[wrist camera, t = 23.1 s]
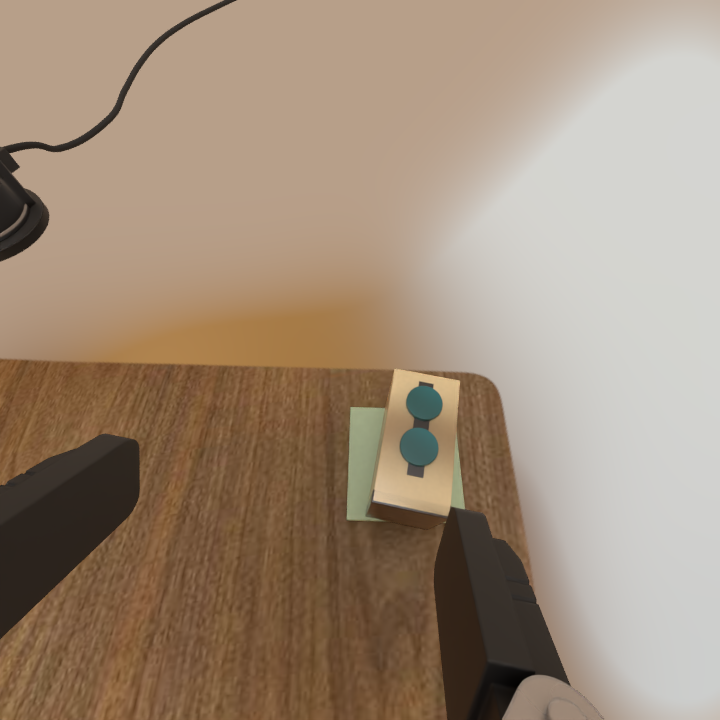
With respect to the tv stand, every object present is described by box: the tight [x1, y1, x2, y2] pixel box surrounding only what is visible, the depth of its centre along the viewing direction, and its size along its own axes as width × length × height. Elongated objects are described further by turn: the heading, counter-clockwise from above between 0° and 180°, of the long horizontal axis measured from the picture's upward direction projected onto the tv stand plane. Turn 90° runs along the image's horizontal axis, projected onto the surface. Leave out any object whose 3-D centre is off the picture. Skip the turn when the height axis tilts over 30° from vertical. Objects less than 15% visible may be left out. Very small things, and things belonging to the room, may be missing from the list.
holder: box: [365, 369, 460, 530], centre depth 27 cm, size 9×5×7 cm, turn 169°
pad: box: [347, 407, 465, 523], centre depth 30 cm, size 9×9×1 cm
